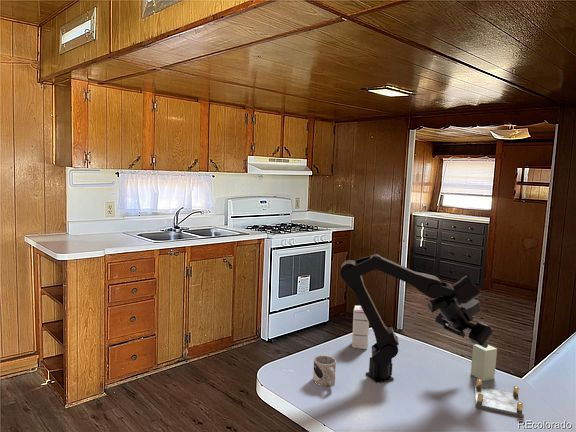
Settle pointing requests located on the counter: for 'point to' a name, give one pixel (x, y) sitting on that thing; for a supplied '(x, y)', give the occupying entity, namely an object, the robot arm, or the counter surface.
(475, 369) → the sage block
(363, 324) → the syrup box
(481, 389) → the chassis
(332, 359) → the mug
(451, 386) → the counter surface
